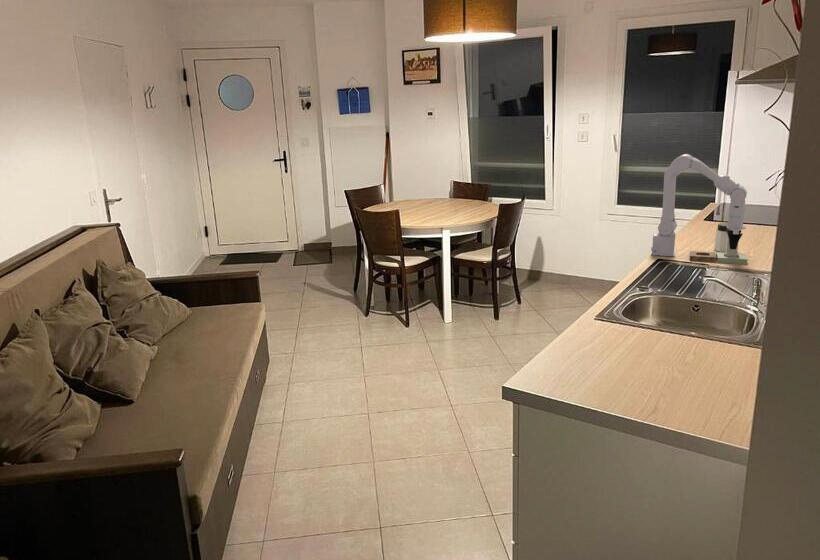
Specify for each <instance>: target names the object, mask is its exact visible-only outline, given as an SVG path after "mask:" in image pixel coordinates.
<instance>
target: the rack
mask: <svg viewBox="0 0 820 560" xmlns="http://www.w3.org/2000/svg"><path fill="white" fill-rule="evenodd" d="M725 253H726V252H718V251H715V254H716V262H717V263H722V264H736V265H737V264H739V265H740V264H741V265H747V264H748V257H747V256H746V253H740V252H739V253H738V252H737V257H726V255H725Z"/></svg>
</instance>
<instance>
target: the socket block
mask: <svg viewBox="0 0 820 560" xmlns="http://www.w3.org/2000/svg"><path fill="white" fill-rule="evenodd" d="M689 255H690V256H689V261H691V260H692V261H695V262H708V263H709V262H710V263H711V262H712V263H716V262H717V259H716V251H715V252H714V251H699V250H689Z"/></svg>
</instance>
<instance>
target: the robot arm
mask: <svg viewBox="0 0 820 560" xmlns="http://www.w3.org/2000/svg"><path fill="white" fill-rule="evenodd" d="M688 169H689V171H693V172H694V171H696V172H698V173H700V174H701V175H703V176H705V177H706V178H708V179H709V180H710V181H712V182H713V184H714V187H715V188H716V189H718V190H719V191H721V193H724V194H725V195H726V196H729V198H730V203H729V208H728V214H727V215H728V217H727V223H728V224H727V229H730V230H726V231H727V234H728V237H729V243H730V249H736V248H737V245H738V246H739V241H740V240H741V238H742V236H743V233H742V230H745V229H747V228H746V227H747V226H744V219H745V218H744V217H745V209H746V205H745V204H746V198H747V194H748V192H747V190H746V188H745V187H744V186H743V185H741V184H740V183H736V182H735V181H734V180H732V179H730V178H731V176H729V175H725V174H722V175H720V174H719V173H717V172H715V171H714V170H713V169H711V168H710V167H709V166H708V165H706V164H705V163H704V162H703V161H702V160H699V159H698V158H696V157H693V155H691V154H689V153H684V154H682V155H680V156H679V155H678V157H676V158H675V159H673V160H672V162H671V164H669V166H668V167H667V169H666V170H665V171H664V175H663V176H664V177H663V192H662V193H663V194H662V196H663V197H662V213H661V217H660V222H659V224H658V227H657V230H658V232H657V234H652V244H651V245H652V246H651V249H650V250H651V256H658V255H659V257H661V256H662V257H663V256H664V257H676V256H675V255H676V254H675V253H676V252H675V246H676V245H675V244H676V232H675V230H676V229H677V222H676V219H675V218H676V215H675V207H676V206H675V203H676V202H675V201H676V187H677V177H678V176H679V175H680V174H681V173H682V172H684V171H686V170H688Z"/></svg>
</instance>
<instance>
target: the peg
mask: <svg viewBox="0 0 820 560" xmlns="http://www.w3.org/2000/svg"><path fill="white" fill-rule="evenodd" d="M738 248H739V244H738V245H737V248H736V249H730V243H729V237H728V236H727V244H726V252H724V253H725V255H726V257H737V253H738V250H739V249H738Z"/></svg>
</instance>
